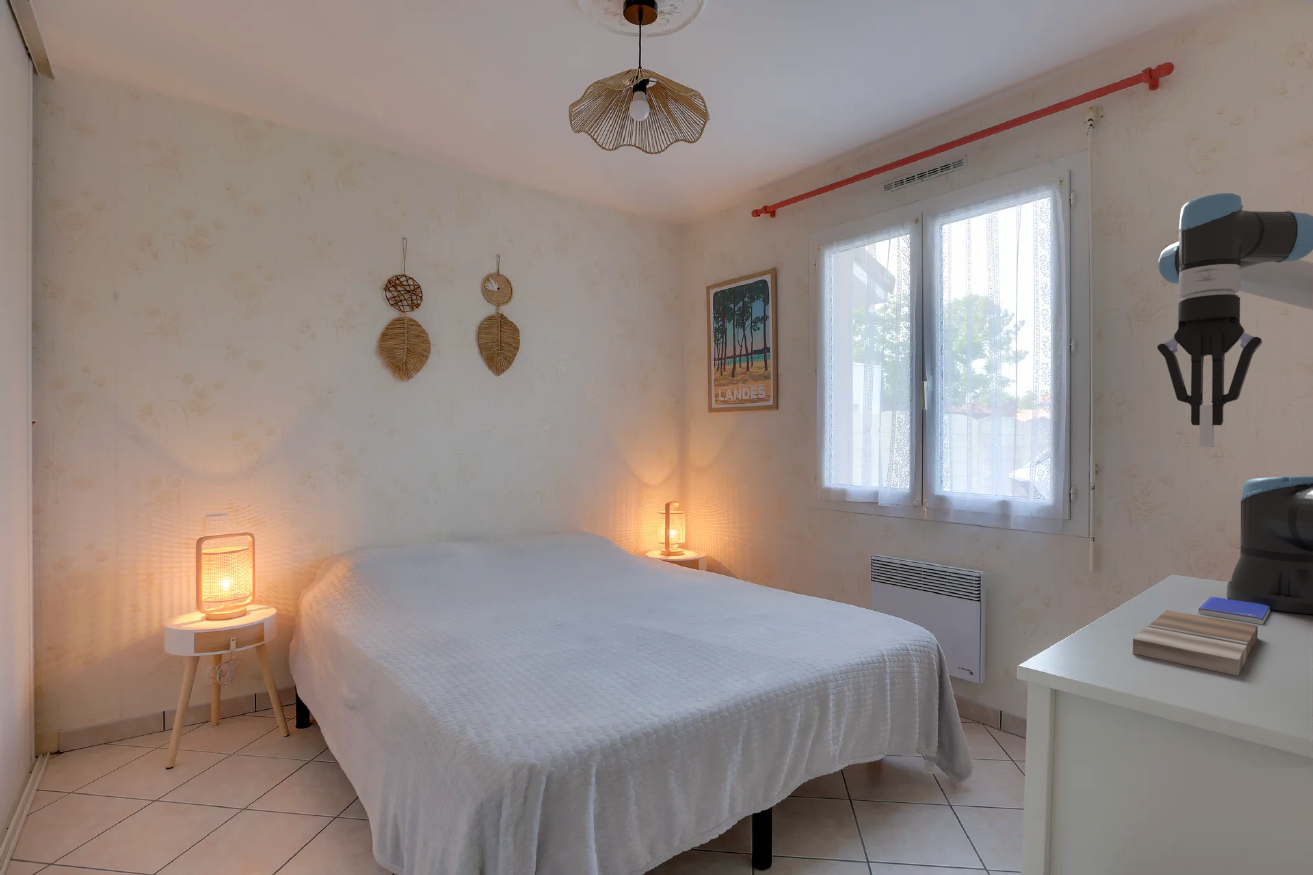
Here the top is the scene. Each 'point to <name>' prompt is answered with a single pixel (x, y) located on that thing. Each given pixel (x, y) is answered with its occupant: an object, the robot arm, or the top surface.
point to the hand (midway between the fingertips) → (1206, 446)
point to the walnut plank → (1209, 627)
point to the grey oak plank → (1191, 649)
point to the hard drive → (1235, 610)
